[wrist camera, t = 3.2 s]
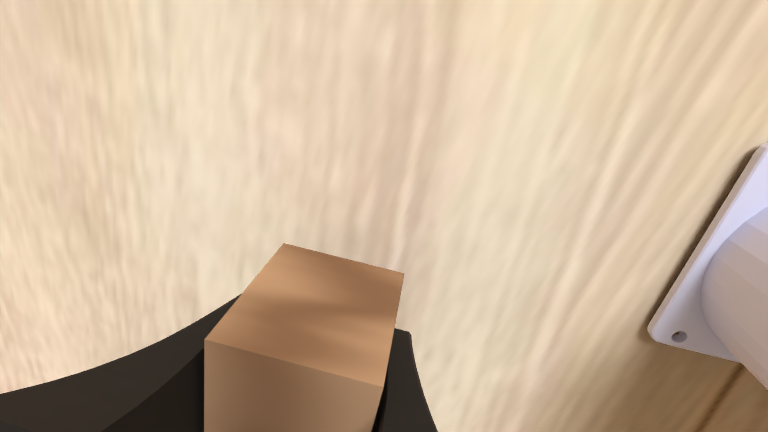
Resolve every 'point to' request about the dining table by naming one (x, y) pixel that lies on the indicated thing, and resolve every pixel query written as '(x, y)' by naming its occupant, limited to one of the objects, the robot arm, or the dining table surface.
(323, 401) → the walnut block
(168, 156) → the dining table surface
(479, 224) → the dining table surface
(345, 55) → the dining table surface
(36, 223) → the dining table surface
